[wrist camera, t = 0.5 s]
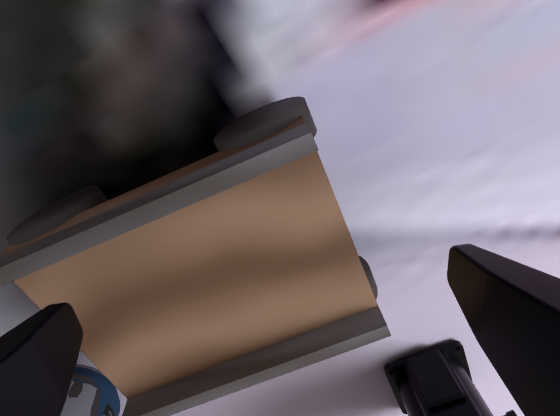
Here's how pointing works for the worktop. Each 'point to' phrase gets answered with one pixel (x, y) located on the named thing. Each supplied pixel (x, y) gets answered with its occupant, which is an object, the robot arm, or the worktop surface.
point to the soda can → (91, 394)
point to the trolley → (206, 268)
